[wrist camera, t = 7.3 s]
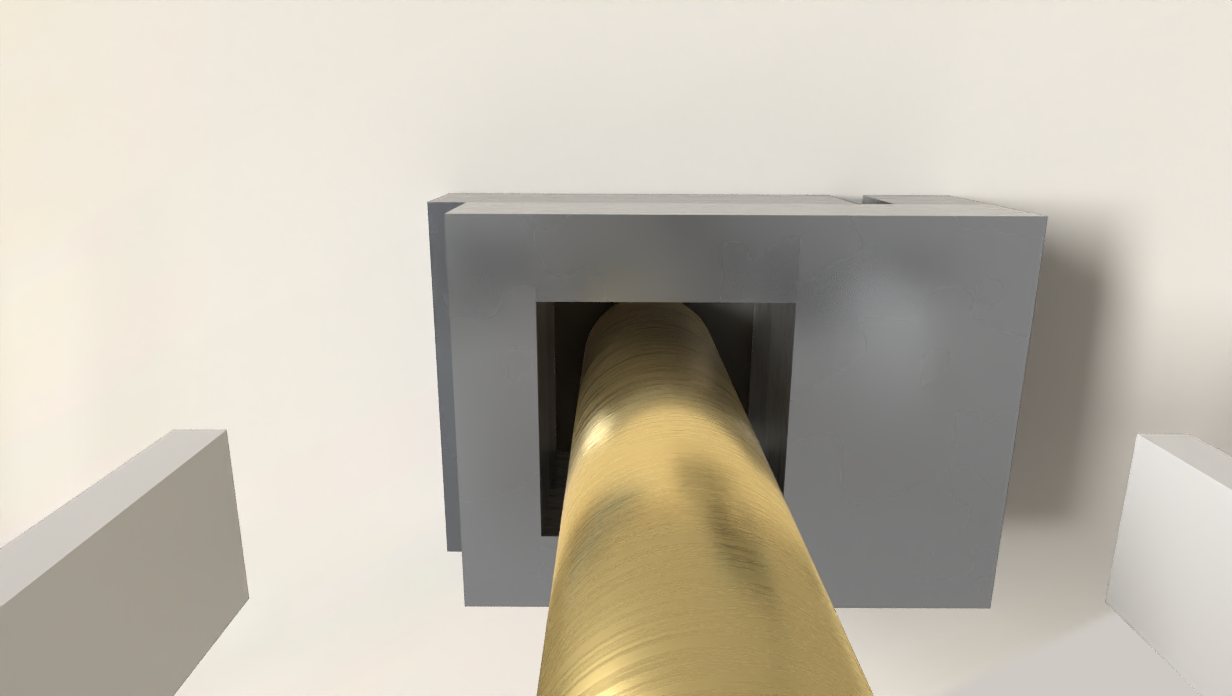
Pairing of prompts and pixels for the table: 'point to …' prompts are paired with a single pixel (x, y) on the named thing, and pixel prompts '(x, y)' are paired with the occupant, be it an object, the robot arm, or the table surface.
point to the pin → (680, 535)
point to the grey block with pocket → (753, 370)
